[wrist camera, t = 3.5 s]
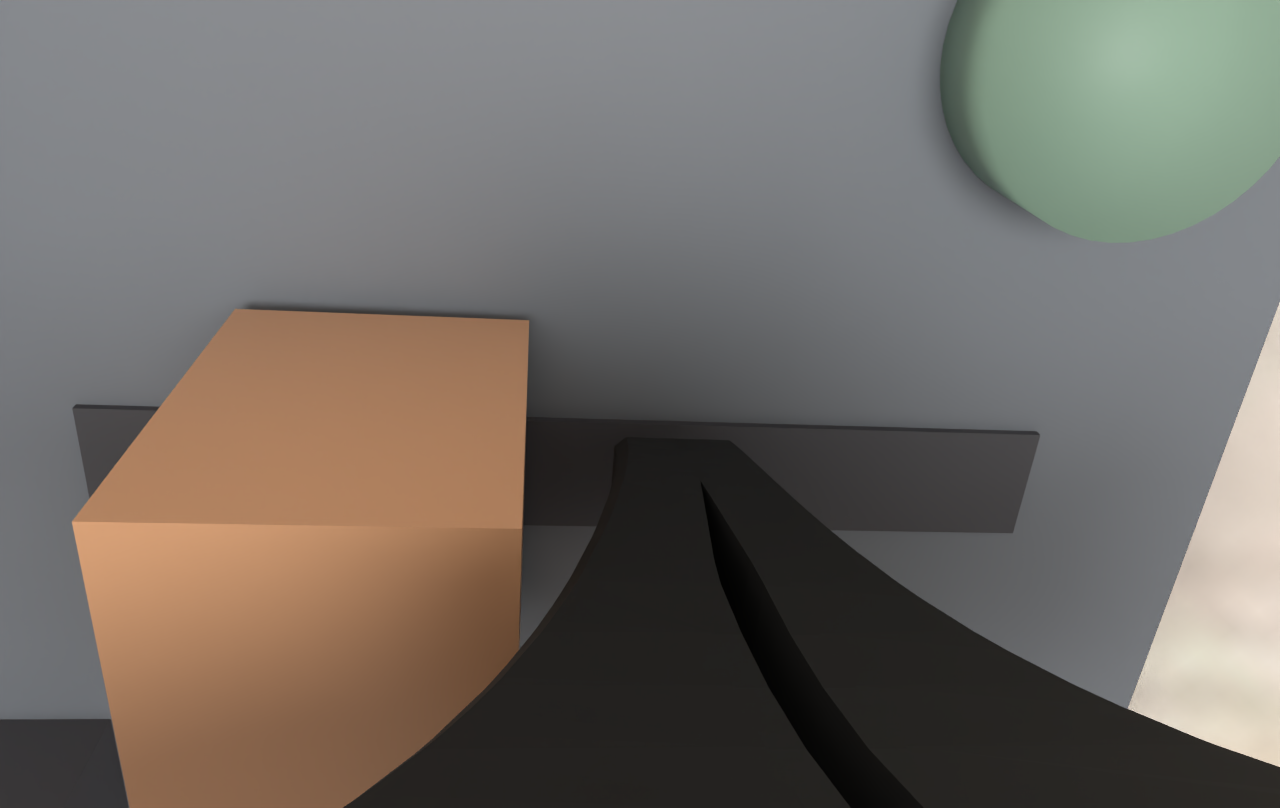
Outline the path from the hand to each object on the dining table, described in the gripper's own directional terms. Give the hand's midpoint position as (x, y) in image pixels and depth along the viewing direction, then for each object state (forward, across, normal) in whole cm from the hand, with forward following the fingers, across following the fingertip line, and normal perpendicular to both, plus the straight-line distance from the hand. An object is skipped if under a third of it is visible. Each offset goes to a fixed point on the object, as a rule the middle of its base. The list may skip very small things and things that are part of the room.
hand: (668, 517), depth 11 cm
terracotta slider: (+1, +3, 0) cm, 3 cm away
